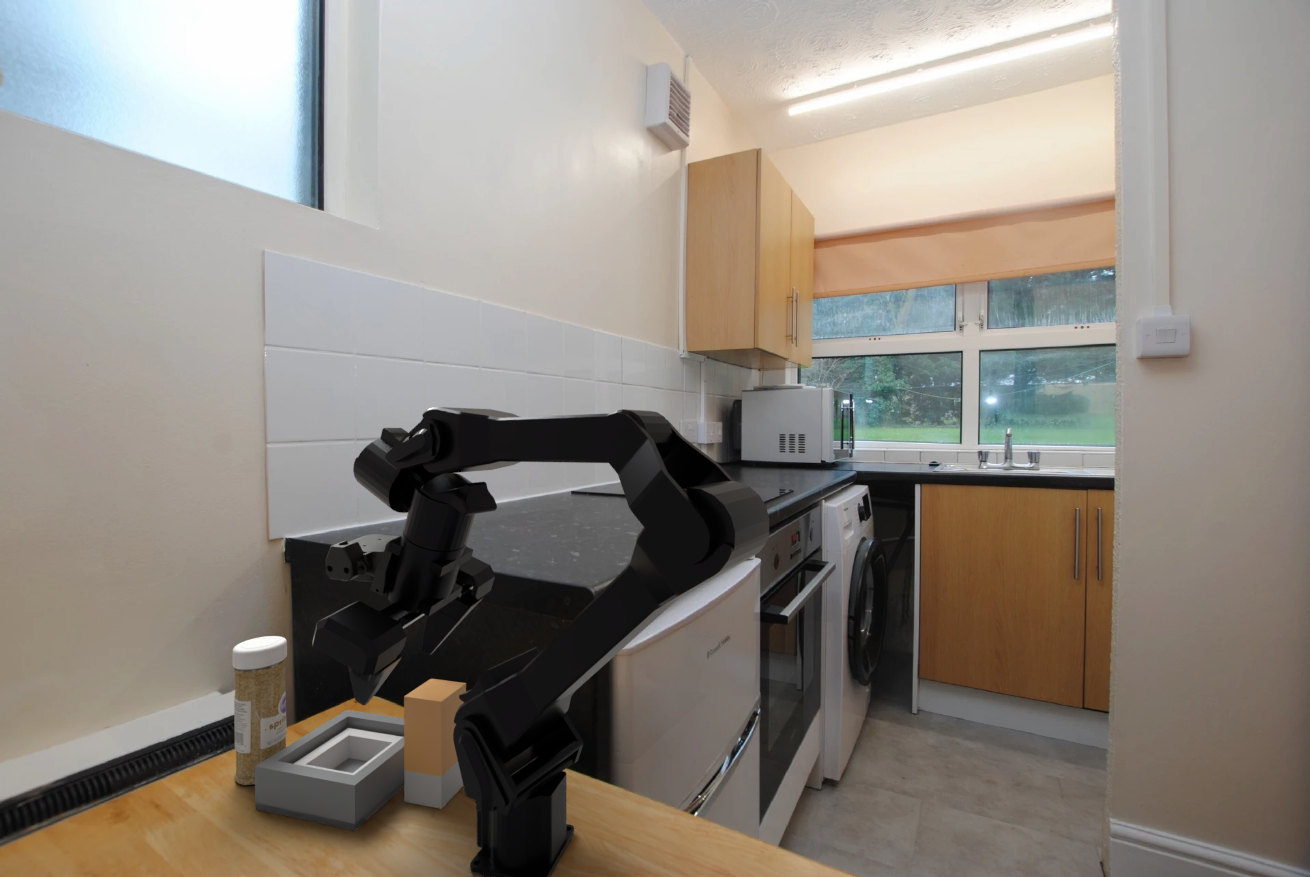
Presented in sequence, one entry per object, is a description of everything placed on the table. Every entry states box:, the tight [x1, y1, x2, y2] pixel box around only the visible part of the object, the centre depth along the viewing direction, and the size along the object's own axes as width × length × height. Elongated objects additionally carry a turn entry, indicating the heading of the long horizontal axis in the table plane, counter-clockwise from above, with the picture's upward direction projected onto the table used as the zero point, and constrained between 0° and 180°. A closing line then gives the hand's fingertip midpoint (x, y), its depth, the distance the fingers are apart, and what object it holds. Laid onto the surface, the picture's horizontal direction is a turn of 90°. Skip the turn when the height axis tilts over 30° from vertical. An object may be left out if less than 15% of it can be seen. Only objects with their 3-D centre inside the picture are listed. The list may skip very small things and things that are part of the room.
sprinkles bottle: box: [231, 635, 288, 786], centre depth 58 cm, size 5×5×14 cm
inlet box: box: [254, 709, 404, 832], centre depth 57 cm, size 11×11×4 cm
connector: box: [403, 678, 467, 810], centre depth 55 cm, size 4×4×10 cm
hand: (396, 675), depth 56 cm, fingers open, 9 cm apart
